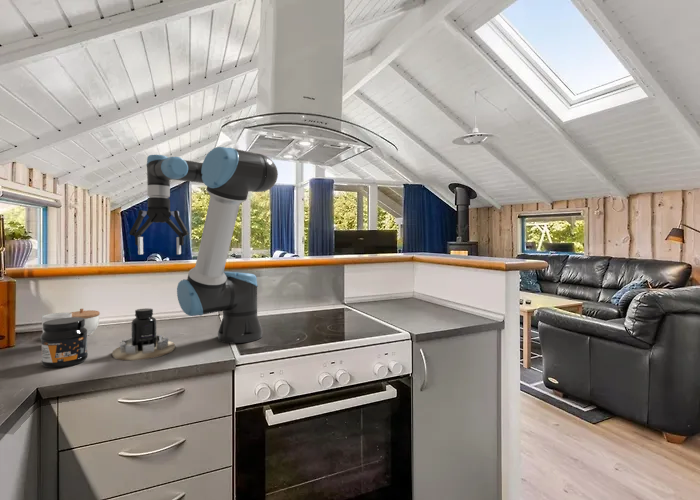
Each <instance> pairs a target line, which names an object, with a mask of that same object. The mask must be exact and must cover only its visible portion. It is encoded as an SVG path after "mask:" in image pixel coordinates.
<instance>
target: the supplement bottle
mask: <svg viewBox="0 0 700 500" xmlns="http://www.w3.org/2000/svg"><path fill="white" fill-rule="evenodd" d="M134 312H135V314H134V316H135V318H133V319H132V321H131V338H132V345H138V351H142V345H145V344H151V343H154V348H155V347H156V335H157V319H156V318H155V317H154V309H153V308H149V307H148V308H138V309H135V311H134Z"/></svg>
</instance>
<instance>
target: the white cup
mask: <svg viewBox="0 0 700 500" xmlns="http://www.w3.org/2000/svg"><path fill="white" fill-rule="evenodd" d="M69 317H72V313H71V312H54V313H53V312H52V313H48V314H44V315H41V325H42V326H41V327H42V333H43V332H44V330H43V323H44V322H46V321H49V320H53V319H59V318H69Z"/></svg>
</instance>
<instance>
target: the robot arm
mask: <svg viewBox="0 0 700 500" xmlns="http://www.w3.org/2000/svg"><path fill="white" fill-rule="evenodd" d="M146 172H147V173H146V176H147V178H146V179H147V180H146V181H147V182H146V183H147V184H146V185H147V186H146V187H147V197H148V198H147V210H142V209H139V210H138V213H137V218H136V219H135V222H134V223H133V224H132V227H131V229H130V231H129V235H130V236H133V237H134V239H135V240H134V241H135V243H134V244H135V246H137V255H144V236H142V235H143V234H144V233H145V232H146V230H147V229H148V228H150V226H151V225H152V224H153V223H162V224H164V223H166V224H167V225H168V226H169V227H170V228H171V229H172V230H173V232H175V234H176V235H177V237H176V255H181V254H182V246H184V237H185V236H189V234H190V233H189V231H188V229H187V227H186V226H185V223H184V222H183V220H182V218H181V215H180V211H179V210H174V211H171V199H170V197H171V183H170V182H171V181H172V180H173V181H184V182H189V183H191V182H192V183H198V184H199V183H201V184H204V186H206V192H207V193H208V194H209V201H208V205H207V211H206V216H205V220H204V225H203V228H202V229H203V230H202V232H201V233H202V234H201V239H200V242H199V248H198V253H197V256H196V262H195V267H193V268H191V269H190V270H188V275H187V278H186V279H182V280H180V281H179V282H178V284H177V287H176V294H177V295H176V296H177V301H178V303H179V307H180V308H181V310H182V311H183V313H185V315H187V316H189V317H193V316H203V315H208V314H215V313H220V312H222V318H221V322H220V324H219V328H218V332H217V340H218V341H220V342H221V343H228V344H242V343H249V342H250V343H251V342H255V341H257V340H259V339H262V337H263V328H262V325H261V322H260V320H259V317H258V287H259V286H258V279H257V278H258V277H257V276H256V274H254V273H248V272H238V271H225V267H226V263H227V259H228V255H229V250H230V248H231V242H232V240H233V239H232V238H233V235H234V229H235V226H236V222H237V217H238V213H239V210H240V206H241V204H242V203H244V202H246V201H247V198H248V196H249V195H248V194H249V192H252V193H254V192H255V193H263V192H266V191H269V190H270V189H272V188H273V187H274V186H275V184H276V182H277V180H278V175H279V172H278V167H277V166H276V164H275V162H274V161H273V160H272V159H271V158H269V157H268V156H267V155H264V154H263V153H262V154H261V153H255V152H252V151H251V152H250V151H246V150H242V149H237V148H234V147H226V146H217V147H214V148H212V149H211V150H209V151H208V153H207V154H206V156H205V157H204V158H203V161H202V162H198V161H193V160H185V159H183V158H182V157H179V156H170V157H169V156H167V155H163V154H150V155H149V154H148V156H147V158H146ZM146 215H147V217H148V218H147V219H146V220H145V223H143V224H142V222H143V220H144V218H145V217H146ZM171 216H172V217H174V218H175V220H176V222H177V223H176V224H178V226H179V227H178V226H177V225H176V224H175V223H174V222H173V220H172V219H171V218H170V217H171ZM141 224H142V225H141ZM140 226H141V227H140Z"/></svg>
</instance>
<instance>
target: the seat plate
mask: <svg viewBox="0 0 700 500" xmlns="http://www.w3.org/2000/svg"><path fill="white" fill-rule="evenodd" d="M175 349H176V345H175V342H173V341H170V340H168V346H167V348H165V349H163V350H157V343H156V347H155V348H154V352H153V353H147V354H143V353H142V351H138V354H136V355H128V354H126V353H121V351H120V346H118V347H117V348H115V349H114V350H112V358H113V359H115V360H118V361H142V360H149V359H153V358H159V357H162V356H165V355H168V354H170V353H172V352H174V350H175Z"/></svg>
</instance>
